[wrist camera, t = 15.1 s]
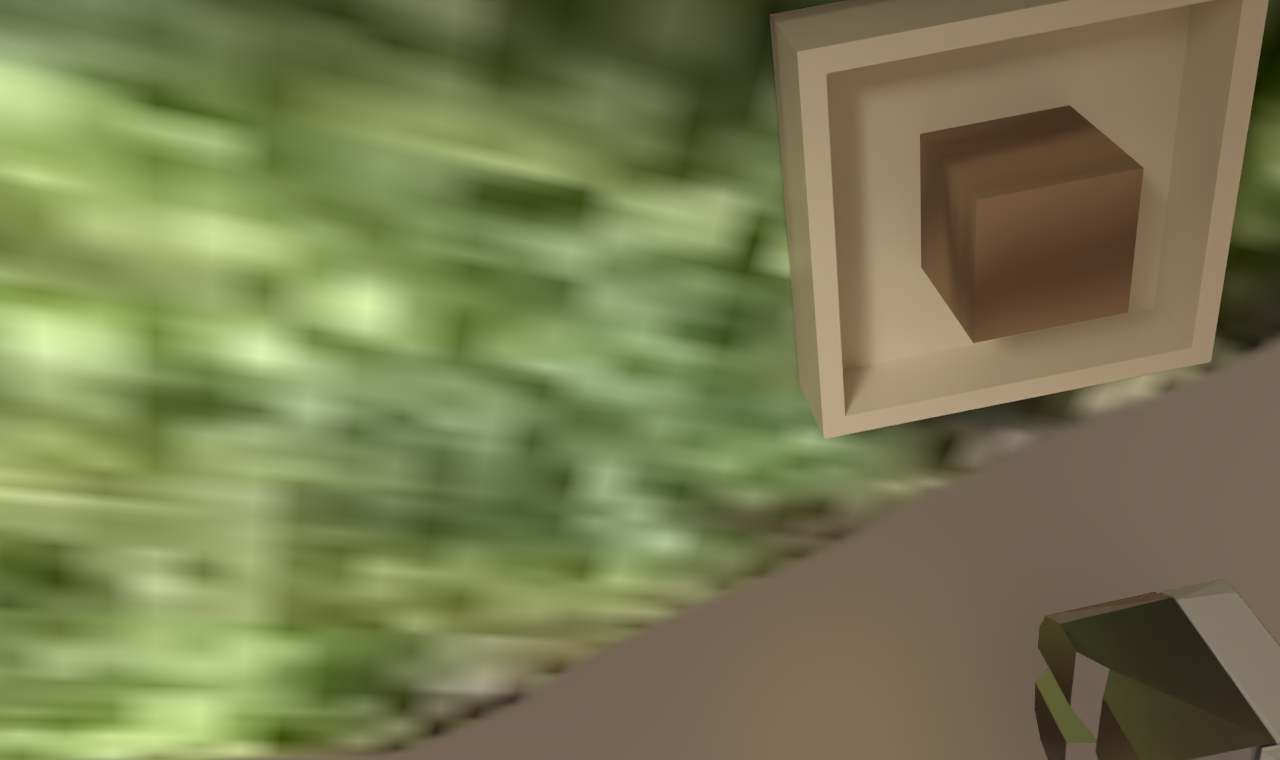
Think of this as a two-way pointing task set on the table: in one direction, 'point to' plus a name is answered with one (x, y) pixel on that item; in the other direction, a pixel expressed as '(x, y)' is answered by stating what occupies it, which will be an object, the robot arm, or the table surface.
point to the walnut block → (1028, 222)
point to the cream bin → (977, 92)
